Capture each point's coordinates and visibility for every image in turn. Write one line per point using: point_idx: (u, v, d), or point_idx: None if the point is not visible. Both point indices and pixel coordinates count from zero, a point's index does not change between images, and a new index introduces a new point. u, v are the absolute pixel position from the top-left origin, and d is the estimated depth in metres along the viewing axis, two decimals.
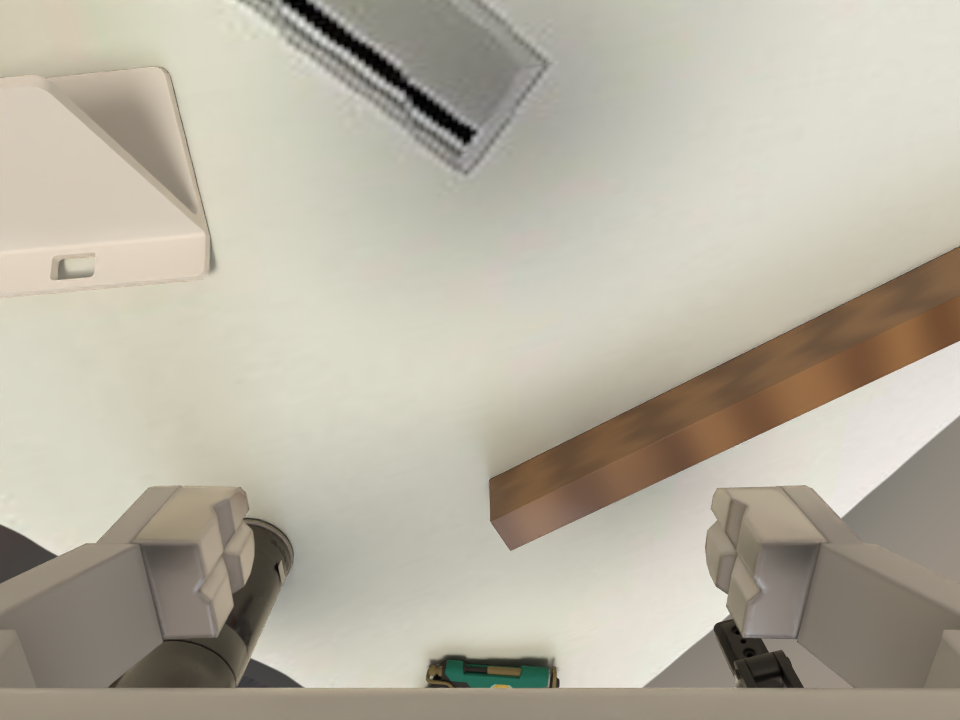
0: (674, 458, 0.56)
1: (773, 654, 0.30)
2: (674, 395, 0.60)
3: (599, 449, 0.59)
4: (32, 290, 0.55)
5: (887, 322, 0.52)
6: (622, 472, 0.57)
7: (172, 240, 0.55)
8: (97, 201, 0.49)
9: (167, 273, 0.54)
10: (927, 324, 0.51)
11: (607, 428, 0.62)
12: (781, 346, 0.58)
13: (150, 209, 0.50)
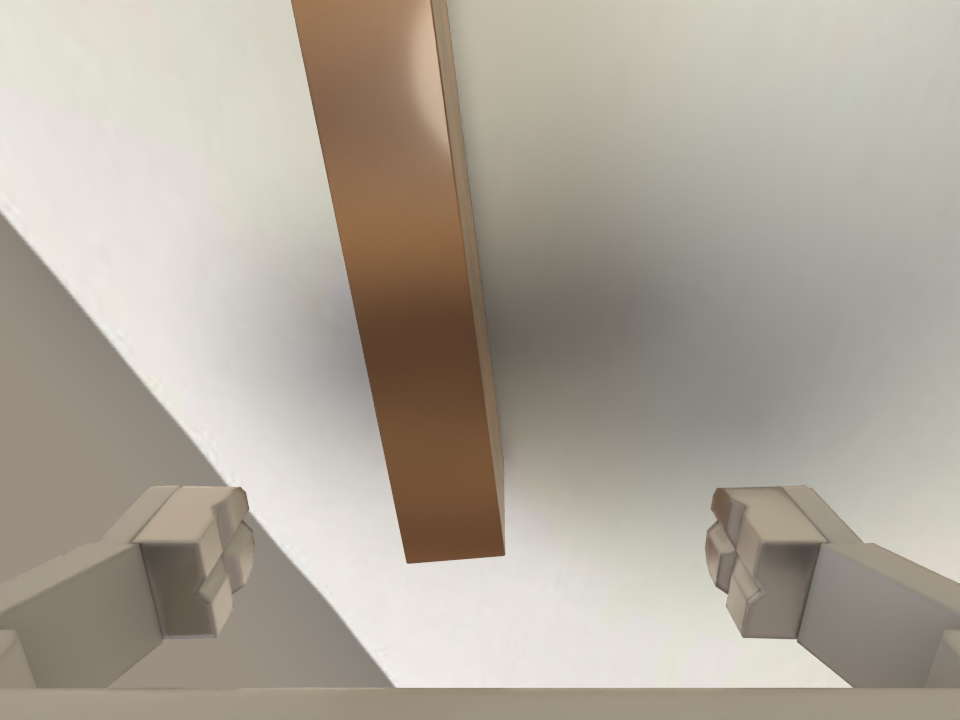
0: None
1: None
2: None
3: None
4: None
5: (463, 219, 0.21)
6: None
7: None
8: None
9: None
10: (435, 299, 0.21)
11: None
12: None
13: None
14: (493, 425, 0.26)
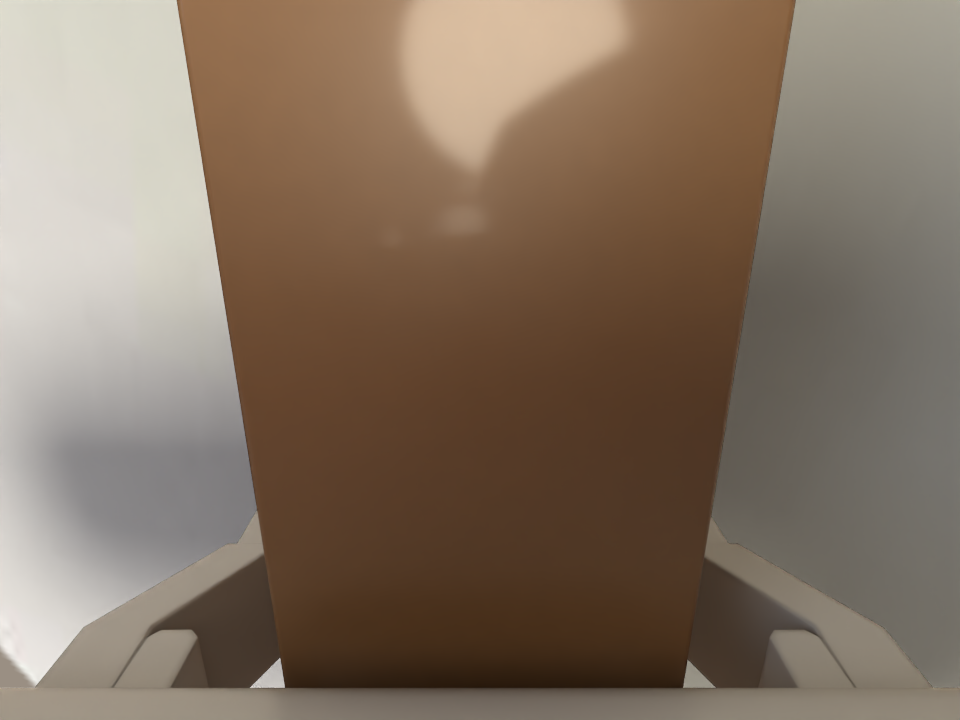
0: None
1: None
2: None
3: None
4: None
5: None
6: None
7: None
8: None
9: None
10: (594, 287, 0.05)
11: None
12: None
13: None
14: None
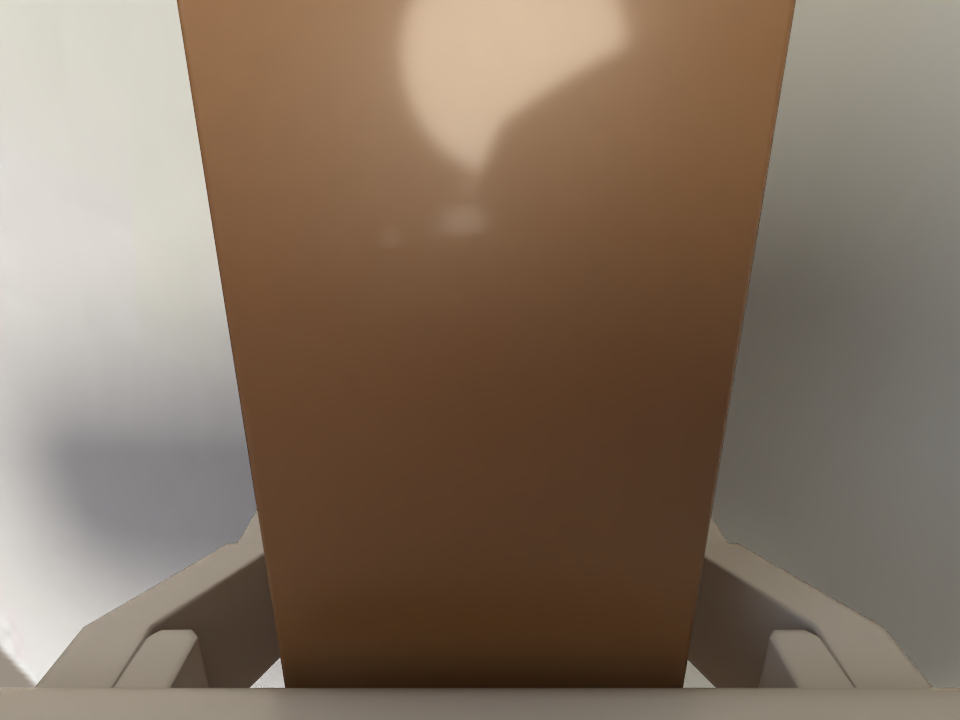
0: None
1: None
2: None
3: None
4: None
5: None
6: None
7: None
8: None
9: None
10: (593, 286, 0.05)
11: None
12: None
13: None
14: None
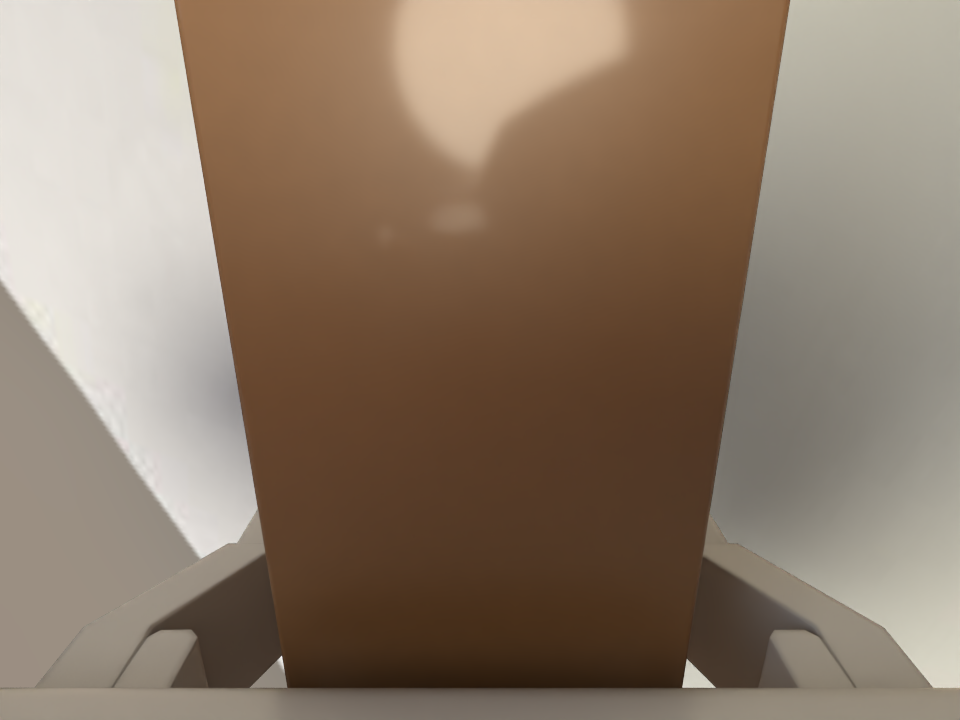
0: None
1: None
2: None
3: None
4: None
5: None
6: None
7: None
8: None
9: None
10: (591, 289, 0.05)
11: None
12: None
13: None
14: None
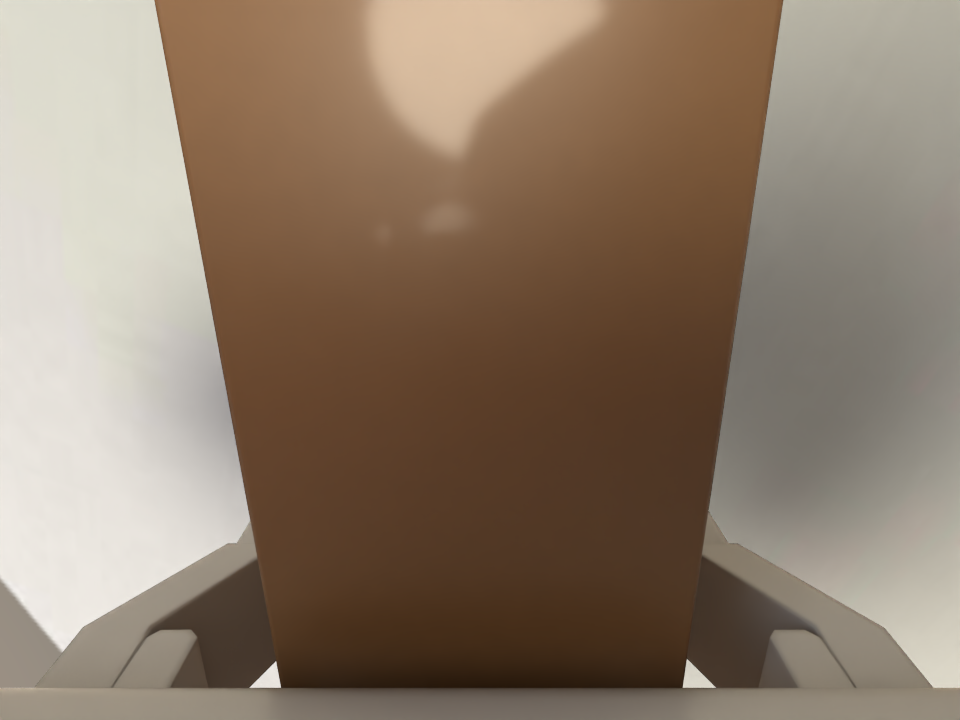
0: None
1: None
2: None
3: None
4: None
5: None
6: None
7: None
8: None
9: None
10: (584, 290, 0.05)
11: None
12: None
13: None
14: None
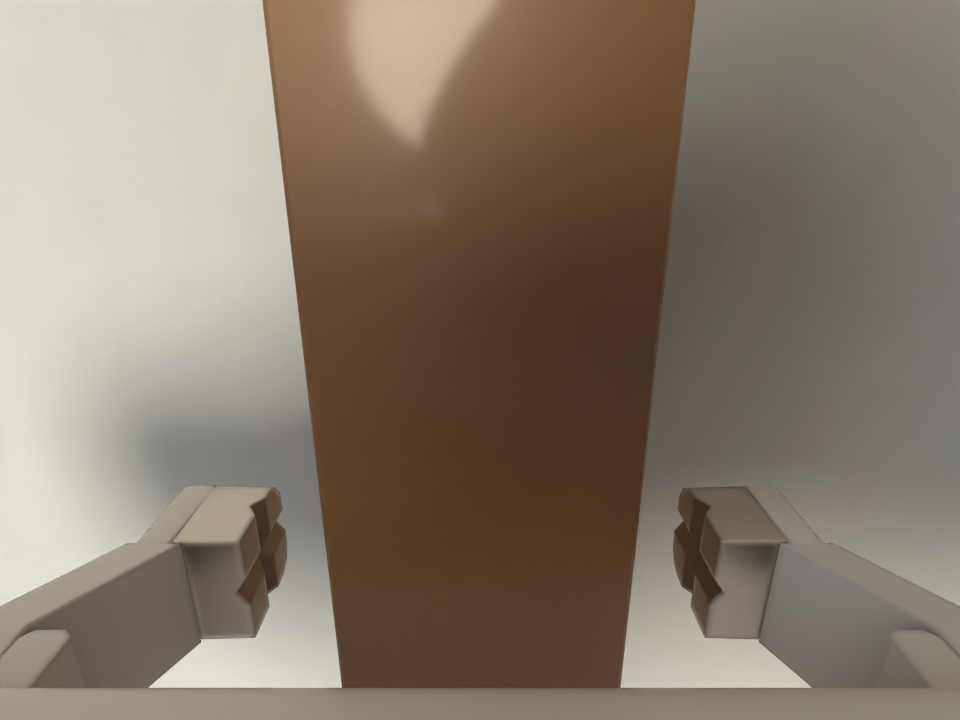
0: None
1: None
2: None
3: None
4: None
5: None
6: None
7: None
8: None
9: None
10: (557, 224, 0.06)
11: None
12: None
13: None
14: None
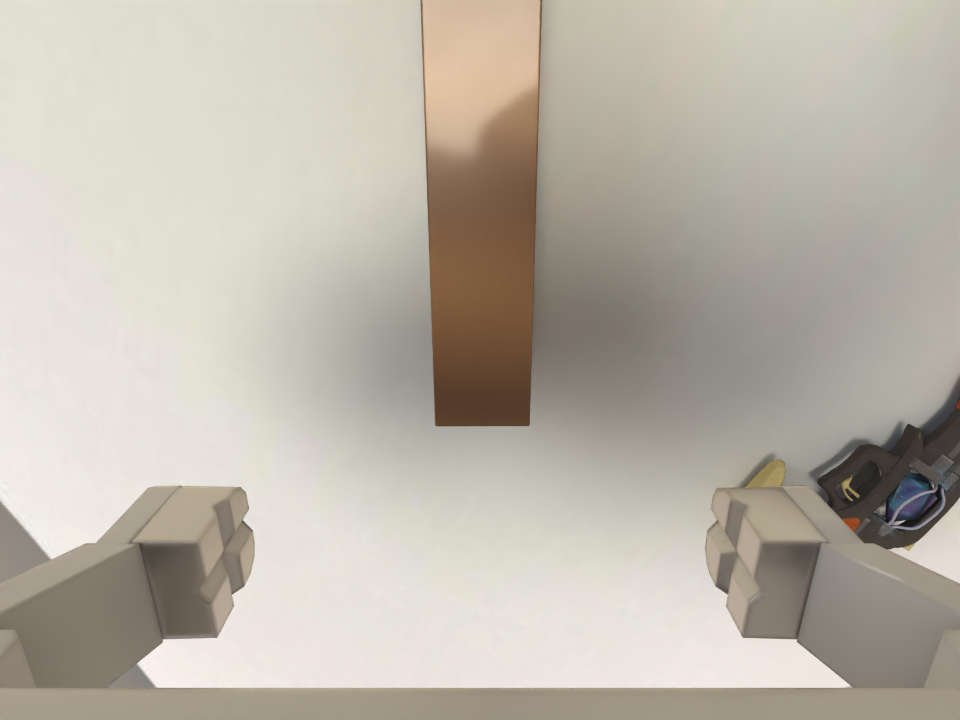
0: None
1: None
2: None
3: None
4: None
5: None
6: None
7: None
8: None
9: None
10: (504, 158, 0.22)
11: None
12: None
13: None
14: None
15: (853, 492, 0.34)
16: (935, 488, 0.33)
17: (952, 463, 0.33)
